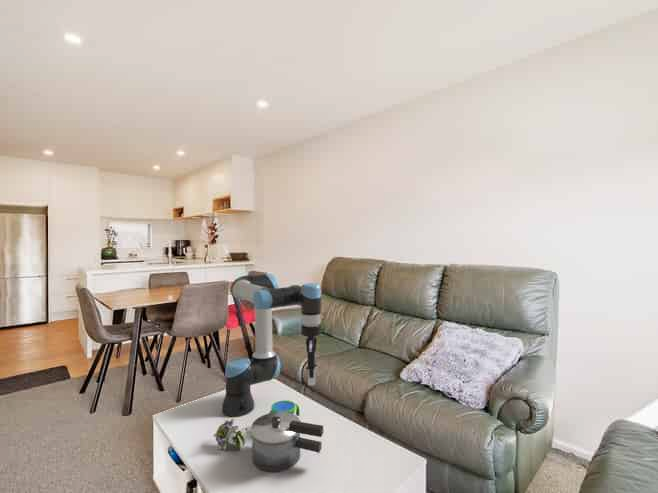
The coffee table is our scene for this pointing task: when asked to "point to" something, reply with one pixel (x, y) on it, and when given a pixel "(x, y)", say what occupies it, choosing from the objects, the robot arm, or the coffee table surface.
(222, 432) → the passion flower
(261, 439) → the cooker lid
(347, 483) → the coffee table surface
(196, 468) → the coffee table surface
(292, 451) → the cooker pot
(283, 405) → the snack cup
